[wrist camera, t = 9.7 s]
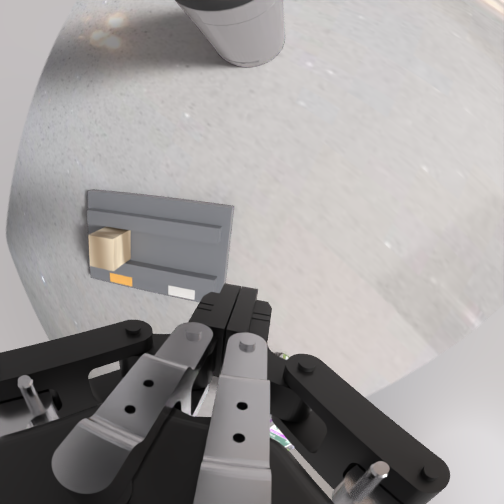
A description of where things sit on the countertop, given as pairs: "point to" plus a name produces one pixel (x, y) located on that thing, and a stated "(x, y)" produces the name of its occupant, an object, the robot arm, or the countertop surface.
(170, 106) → the countertop surface
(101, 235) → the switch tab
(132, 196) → the grey rail board
